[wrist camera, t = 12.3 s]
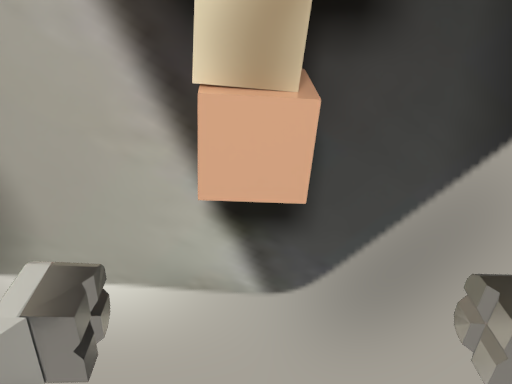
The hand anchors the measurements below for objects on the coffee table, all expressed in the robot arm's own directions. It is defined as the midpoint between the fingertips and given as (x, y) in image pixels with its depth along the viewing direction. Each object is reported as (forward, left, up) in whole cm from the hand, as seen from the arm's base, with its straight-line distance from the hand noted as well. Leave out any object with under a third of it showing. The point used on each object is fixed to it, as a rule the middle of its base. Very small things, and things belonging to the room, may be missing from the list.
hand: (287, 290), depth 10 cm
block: (0, 0, -13) cm, 13 cm away
